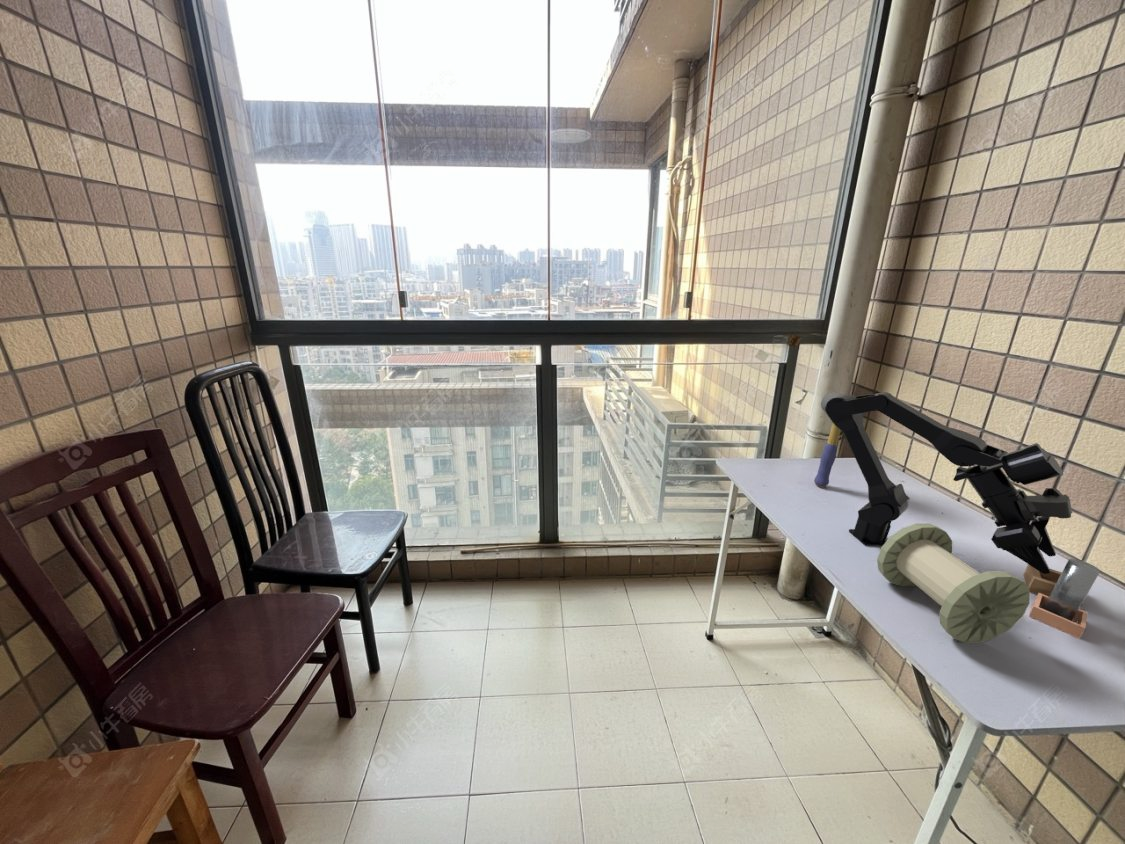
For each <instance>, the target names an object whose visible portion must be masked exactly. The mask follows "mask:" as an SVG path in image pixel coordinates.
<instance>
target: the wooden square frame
mask: <svg viewBox="0 0 1125 844" xmlns="http://www.w3.org/2000/svg"><path fill="white" fill-rule="evenodd" d="M1049 569H1050V573H1048V574H1043V573H1041V572H1040V571H1038V570H1036V569H1035V568H1033V567H1032V566H1030V565H1029V564H1027V566H1026V568H1025V569H1024V572H1023V573H1022V576H1023V581H1024V583H1025V584H1026V586H1027V587H1028V589H1029V591H1030V594H1033V595H1036V596H1037V595H1038V593H1041V594H1044V595H1046V596H1048V597H1049V596H1050V594H1051V592H1052V590H1053V588H1054V587H1055V585H1056V583H1057V581H1058V579H1059V577H1060V575H1061V573H1062V571H1059V570H1055V569H1051V568H1049Z"/></svg>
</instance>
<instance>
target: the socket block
mask: <svg viewBox="0 0 1125 844" xmlns="http://www.w3.org/2000/svg"><path fill="white" fill-rule="evenodd" d="M1048 598H1049V597H1048V596H1046V595H1044V594H1041V593H1038V595H1036V597H1035V598H1034V601H1033V603H1032V606H1031V609H1030V612H1029V614H1028V615H1029V616H1028V617H1029V618H1031V619H1034V620H1036V621H1038V622H1041V623H1043V624H1045V625H1047V626H1050V627H1052V628H1054V629H1056V630H1058V631H1061V632H1063V633H1066V634H1068V635H1070V636H1073V638H1074V637H1075V638H1077V639H1081V637H1082V635H1083V633H1084V632H1085V630H1086V627H1087V620H1088V614H1089V612H1087V611H1086V610H1082V609H1080V608H1079V610H1078V612H1077V613H1076V615H1075V617H1074V619H1073V621H1070V620H1068V619H1065V618H1063V617H1061V616H1058V615H1056V614H1054V613H1051V612H1049V611H1047V610H1044V609H1043V607H1044V606H1045V604H1046V602H1047V600H1048Z"/></svg>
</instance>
